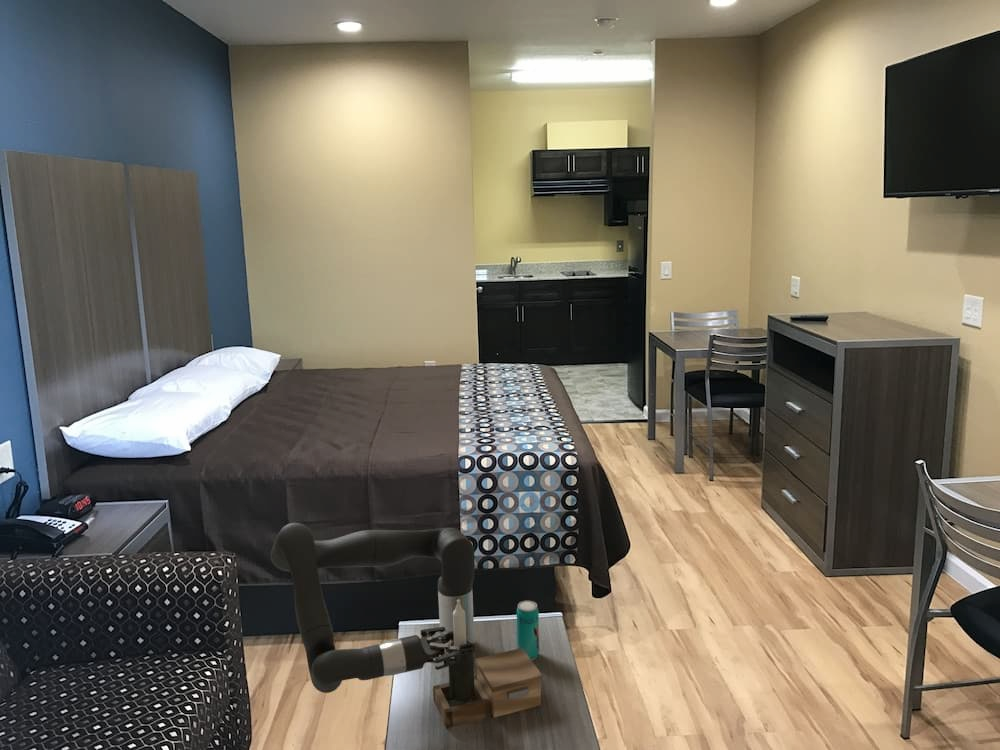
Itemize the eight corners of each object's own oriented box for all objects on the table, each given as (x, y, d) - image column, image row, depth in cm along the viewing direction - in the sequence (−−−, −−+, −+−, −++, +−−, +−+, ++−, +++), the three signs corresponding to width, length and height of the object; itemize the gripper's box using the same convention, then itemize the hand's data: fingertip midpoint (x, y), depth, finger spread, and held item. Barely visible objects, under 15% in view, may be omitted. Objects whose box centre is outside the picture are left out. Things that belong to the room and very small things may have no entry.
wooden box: (432, 697, 191) (430, 667, 189) (521, 675, 199) (521, 646, 197) (448, 732, 178) (447, 700, 176) (543, 707, 186) (543, 676, 184)
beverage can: (537, 663, 203) (536, 611, 200) (515, 661, 205) (514, 610, 201) (540, 651, 209) (539, 600, 206) (519, 649, 210) (518, 599, 207)
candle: (476, 690, 187) (472, 595, 181) (468, 703, 182) (464, 606, 177) (456, 686, 189) (452, 592, 183) (448, 699, 184) (444, 603, 178)
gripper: (407, 657, 170) (479, 641, 176) (392, 625, 183) (460, 610, 189) (408, 688, 172) (480, 670, 177) (394, 653, 185) (461, 638, 191)
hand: (469, 639), depth 183 cm, fingers closed on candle, 6 cm apart
